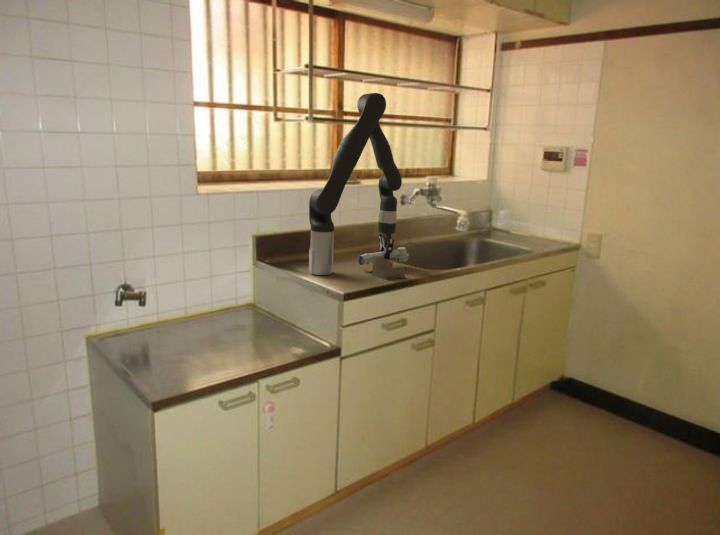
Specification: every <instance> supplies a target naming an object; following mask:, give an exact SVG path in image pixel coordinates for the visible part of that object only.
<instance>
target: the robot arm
mask: <svg viewBox="0 0 720 535" xmlns="http://www.w3.org/2000/svg"><path fill="white" fill-rule="evenodd" d="M356 103H357V106H356V107H357V111H358V113H359V118H358V120H357V121H356V123H355V124H354V126H353V127H352V128H351V129H349V131H348V132H347V134H346V135H345V136H344V137H343V138H342V139H341V141H340V143H339V145H338V146H337V149H336V151H335V154H334V155H333V158H332V163H331V170H330V174H329V176H328V179H327V181H326V183H325V184H324V187H323V188H322V189H320V188H319V189H316V190H314V191H313V192H312V193H311V195H310V196H309V197H310V198H309V203H308V209H309V212H308V213H309V214H308V215H309V216H308V218H309V225H310V246H309V249H308V272H309V274H311V275H314V276H315V275H316V276H329V275H332V274H333V272H334V246H335V245H334V243H335V242H334V241H335V224H334V222H333V219H332V213H333V212H335V210H337V207H338V206H339V202H340V199H341V198H342V195H343V192H344V189H345V187H346V185H347V183H348V180H349V179H350V178H351V175H352V174H353V171H354V169H355V168H356V166H357V164H358V162H359V160H360V158H361V156H362V153H363V151H364V149H365V147H366V145H367V144H368V142H369V141H370V143H371V148H372V150H373V155H374V157H375V162H376V165H377V167H378V169H379V170H381V171H382V172H383V173H382V174H381V175H380V177H379V180H378V192H379V198H380V203H379V214H378V223H377V232H378V233H379V234H378V245H377V246H378V248H379V252H383V251H385V256H384V258H386V259H389V260H390V261H391V258H390V253H392V252H393V250H394V243H395V242H394V241H395V238H392V235H393V234H395V233H396V232H397V231H396V229H397V219H398V218H397V217H398V216H397V215H398V214H397V213H398V212H397V208H398V198H397V197H396V196H395V195H394V192H396V191H398V190H400V188H401V187H402V185H403V184H402V183H403V179H402V176H401V173H400V171H399V169H398V166H397V165H396V163H395V160H394V156H393V152H392V148H391V145H390V142H389V141H388V139H387V137H386V135H385V134H384V131H383V129H382V127H381V125H380V120H381V119H382V116H384V114H385V111H386V107H387V100H386V98H385V96H384V95H383V94H381V93H379V92H372V93H364V94H362V95H361V96H360V97H359V98H358V99H357V102H356ZM380 233H381V234H380Z"/></svg>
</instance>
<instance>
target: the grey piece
mask: <svg viewBox="0 0 720 535" xmlns="http://www.w3.org/2000/svg"><path fill="white" fill-rule="evenodd" d="M374 255H376V256H379V257H383V258H384V256H385V251H383V252H380V251H377V252H370V253H366V252H365V253H364V254H361V255H357V263H358V264H359V265H360V266H363V265H370V264H373V256H374ZM392 258H395V262H396V263H401V262H403V263H406V262H407V261H409V253H408V252H407V248H406V247H404V246H403V247H402V246H399V247H397V248H396V249H393V252H392V253H390V259H392Z"/></svg>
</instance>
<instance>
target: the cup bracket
mask: <svg viewBox="0 0 720 535" xmlns="http://www.w3.org/2000/svg"><path fill="white" fill-rule="evenodd" d="M393 264H394V263H393V262H391V259H390V260H389V259H386V258H383V257H379V256H376V255H374V256H373V262H372V274H371V275H372V276H374V277H376V278H380V279H382V280H385V281H389V280H396V279H405V277H406V266H404V265H402V266H401V265H400V266H394V267H393Z"/></svg>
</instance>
